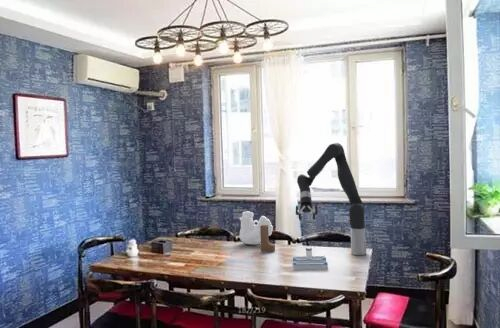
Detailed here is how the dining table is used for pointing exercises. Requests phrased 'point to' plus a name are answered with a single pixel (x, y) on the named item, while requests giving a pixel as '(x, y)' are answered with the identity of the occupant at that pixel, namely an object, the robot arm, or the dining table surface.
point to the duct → (309, 262)
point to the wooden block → (266, 240)
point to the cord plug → (308, 253)
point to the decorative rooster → (252, 228)
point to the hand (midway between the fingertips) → (307, 219)
